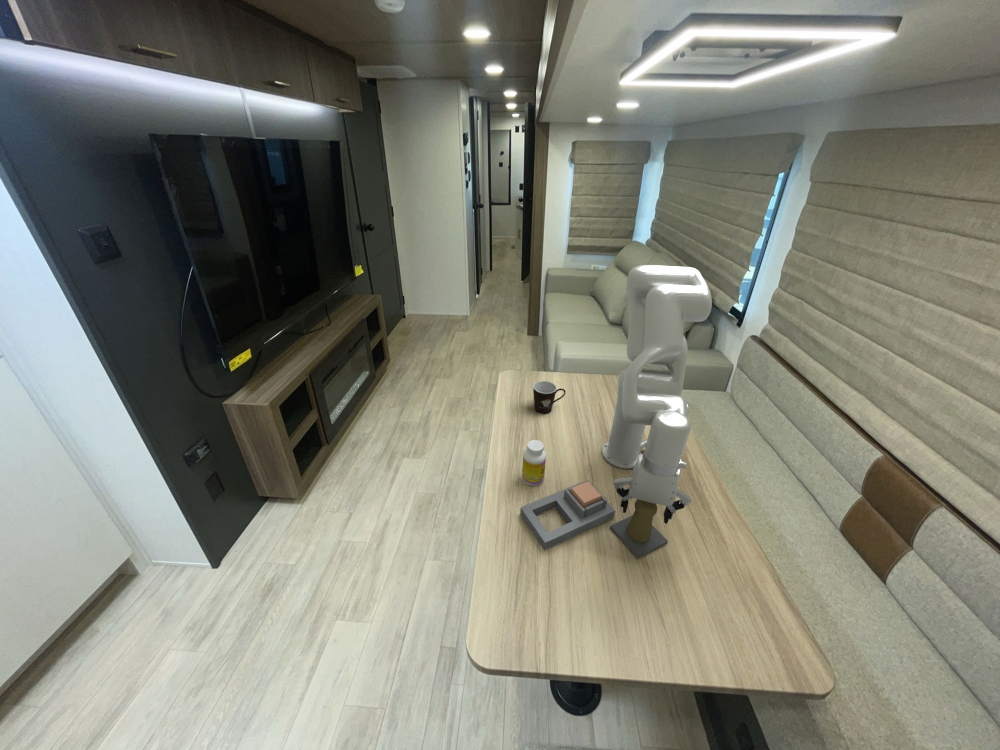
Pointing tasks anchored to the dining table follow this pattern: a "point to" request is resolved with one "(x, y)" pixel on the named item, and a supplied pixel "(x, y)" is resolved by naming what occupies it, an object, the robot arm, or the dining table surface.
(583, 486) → the salmon square block
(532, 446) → the supplement bottle
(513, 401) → the dining table surface
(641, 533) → the brown pawn
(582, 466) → the dining table surface
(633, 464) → the robot arm
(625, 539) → the rubber mat
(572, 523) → the frame
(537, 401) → the coffee mug
